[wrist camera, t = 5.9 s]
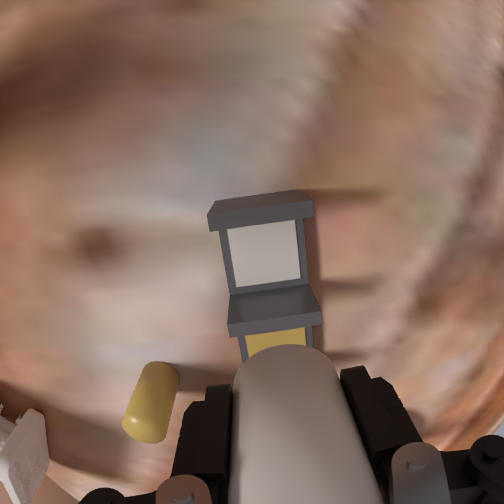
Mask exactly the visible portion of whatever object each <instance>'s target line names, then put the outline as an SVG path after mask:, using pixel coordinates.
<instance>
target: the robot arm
mask: <svg viewBox="0 0 504 504" xmlns="http://www.w3.org/2000/svg"><path fill="white" fill-rule="evenodd" d="M340 382H341V384H342V387H343V390H344V392H345V395H346V398H347V400H348V403H349V406H350V408H351V411H352V414H353V416H354V419H355V422H356V425H357V427H358V430H359V433H360V436H361V438H362V441H363V444H364V447H365V450H366V452H367V455H368V458H369V461H370V464H371V466H372V469H373V472H374V475H375V478H376V481H377V484H378V487H379V490H380V493H381V496H382V499H383V501H384V504H504V438H503V437H501V436H498V435H486V436H483V437H481V438H479V439H478V440H476V441H475V442H474V444H473V445H472V447H471V449H467V450H459V451H449V452H444V451H438V449H437V448H435V447H434V446H432V445H431V444H428V443H424V442H423V441H422V439H421V437H420V435H419V434H418V432H417V430H416V428H415V426H414V424H413V422H412V421H411V419H410V417H409V415H408V413H407V411H406V410H405V408H404V407H403V404H402V402H401V400H400V399H399V398H398V395H397V393H396V392H395V390H394V388H393V386H392V385H391V384H390V383H388V382H387V381H386V380H384V379H383V378H382V377H378V378H373V379H371V378H370V376H369V374H368V372H367V370H366V368H365V367H364V366H363V365H362V366H357V367H352V368H346V369H342V370H341V372H340ZM232 401H233V392H232V388H231V385H230V384H222V385H208V386H207V388H206V394H205V401H193V402H192V403H191V404H190V406H189V407H188V408H187V410H186V411H185V412H184V416H183V420H182V427H181V430H180V434H179V435H180V437H179V439H178V444H177V449H176V453H175V458H174V463H173V468H172V473H171V476H170V478H169V479H167V480H165V481H164V482H163V483H162V484H161V485H160V486H159V487H158V489H157V490H156V491H154V492H151V493H148V494H142V495H136V496H130V497H124V496H123V495H122V494H121V493H120V492H119V491H117V490H115V489H112V488H98V489H95V490H93V491H91V492H89V493H88V494H87V495H86V496H85V497H84V498H83V499H82V500H81V501H80V502H79V503H78V504H228V484H229V462H230V441H231V421H232Z"/></svg>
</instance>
